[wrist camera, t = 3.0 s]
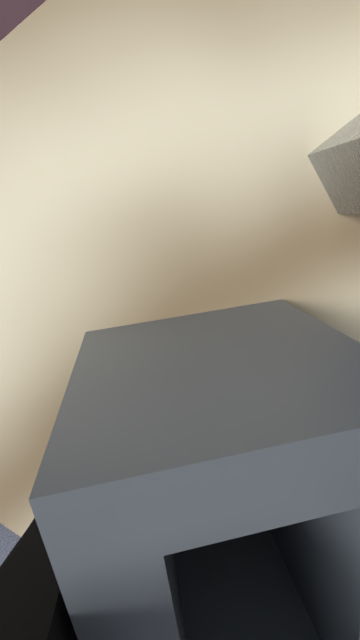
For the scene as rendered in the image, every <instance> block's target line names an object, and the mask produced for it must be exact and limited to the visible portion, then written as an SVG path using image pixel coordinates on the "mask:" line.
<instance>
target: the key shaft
mask: <svg viewBox="0 0 360 640" xmlns="http://www.w3.org/2000/svg"><path fill="white" fill-rule="evenodd" d="M307 156H308V158H309V159H310V161H311V163H312V165H313V167H314V169H315V171H316V173H317V175H318V177H319V179H320V181H321V182H322V184H323V186H324V188H325V190H326V192H327V194H328V196H329V198H330V200H331V202H332V204H333V206H334V207H335V209H336V211H337V213H338V214H360V114H358V115H357V116H356V117H355V118H353V119H352V120H351V121H350V122H348V123H347V124H346V125H345V126H343V127H342V128H341V129H340V130H338V131H337V132H336V133H335V134H333V135H332V136H331V137H329V138H328V139H327V140H326V141H324V142H323V143H322V144H321V145H319V146H318V147H317V148H316V149H314V150H313V151H312V152H311V153H309V154H308V155H307Z"/></svg>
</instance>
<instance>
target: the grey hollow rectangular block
mask: <svg viewBox="0 0 360 640" xmlns="http://www.w3.org/2000/svg"><path fill="white" fill-rule="evenodd" d="M29 503H30V506H31V509H32V511H33V514H34V517H35V520H36V523H37V526H38V528H39V531H40V534H41V537H42V540H43V543H44V545H45V548H46V551H47V554H48V557H49V560H50V562H51V565H52V568H53V571H54V574H55V577H56V579H57V582H58V585H59V588H60V591H61V594H62V596H63V599H64V602H65V605H66V608H67V611H68V613H69V616H70V619H71V622H72V625H73V628H74V630H75V633H76V636H77V639H78V640H360V342H358V341H356V340H354V339H352V338H351V337H349V336H347V335H345V334H343V333H341V332H340V331H338V330H336V329H334V328H332V327H330V326H329V325H327V324H325V323H323V322H321V321H319V320H318V319H316V318H314V317H312V316H310V315H309V314H307V313H305V312H303V311H301V310H299V309H298V308H296V307H294V306H292V305H290V304H288V303H287V302H285V301H283V300H281V299H280V300H274V301H268V302H262V303H256V304H250V305H244V306H238V307H232V308H226V309H220V310H214V311H208V312H202V313H196V314H190V315H184V316H178V317H172V318H166V319H160V320H154V321H148V322H142V323H136V324H130V325H124V326H118V327H112V328H106V329H100V330H94V331H88V332H85V335H84V338H83V341H82V344H81V347H80V350H79V353H78V356H77V359H76V362H75V365H74V367H73V370H72V373H71V376H70V379H69V382H68V385H67V388H66V391H65V394H64V397H63V400H62V403H61V406H60V409H59V412H58V414H57V417H56V420H55V423H54V426H53V429H52V432H51V435H50V438H49V441H48V444H47V447H46V450H45V453H44V456H43V458H42V461H41V464H40V467H39V470H38V473H37V476H36V479H35V482H34V485H33V488H32V491H31V494H30V497H29Z"/></svg>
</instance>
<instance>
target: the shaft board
mask: <svg viewBox="0 0 360 640" xmlns="http://www.w3.org/2000/svg"><path fill="white" fill-rule="evenodd" d="M358 114H360V0H46V1H45V2H44V3H43V4H42V5H41V6H40V7H38V8H37V9H36V10H35V11H34V12H33V13H32V14H31V15H29V16H28V17H27V18H26V19H25V20H24V21H23V22H22V23H20V24H19V25H18V26H17V27H16V28H15V29H14V30H13V31H11V32H10V33H9V34H8V35H7V36H6V37H5V38H4V39H2V40H1V41H0V523H1V524H3V525H4V526H6V527H7V528H8V529H10V530H11V531H13V532H14V533H16V534H17V535H19V536H20V537H22V535H23V534H24V533H25V531H26V530H27V528H28V527H29V525H30V524H31V522H32V521H33V519H34V518H35V517H34V514H33V511H32V509H31V506H30V503H29V497H30V494H31V491H32V488H33V485H34V482H35V479H36V476H37V473H38V470H39V467H40V464H41V461H42V458H43V456H44V453H45V450H46V447H47V444H48V441H49V438H50V435H51V432H52V429H53V426H54V423H55V420H56V417H57V414H58V412H59V409H60V406H61V403H62V400H63V397H64V394H65V391H66V388H67V385H68V382H69V379H70V376H71V373H72V370H73V367H74V365H75V362H76V359H77V356H78V353H79V350H80V347H81V344H82V341H83V338H84V335H85V332H88V331H94V330H100V329H106V328H112V327H118V326H124V325H130V324H136V323H142V322H148V321H154V320H160V319H166V318H172V317H178V316H184V315H190V314H196V313H202V312H208V311H214V310H220V309H226V308H232V307H238V306H244V305H250V304H256V303H262V302H268V301H274V300H280V299H281V300H283V301H285V302H287V303H288V304H290V305H292V306H294V307H296V308H298V309H299V310H301V311H303V312H305V313H307V314H309V315H310V316H312V317H314V318H316V319H318V320H319V321H321V322H323V323H325V324H327V325H329V326H330V327H332V328H334V329H336V330H338V331H340V332H341V333H343V334H345V335H347V336H349V337H351V338H352V339H354V340H356V341H358V342H360V214H338V213H337V211H336V209H335V207H334V206H333V204H332V202H331V200H330V198H329V196H328V194H327V192H326V190H325V188H324V186H323V184H322V182H321V181H320V179H319V177H318V175H317V173H316V171H315V169H314V167H313V165H312V163H311V161H310V159H309V158H308V156H307V155H308V154H309V153H311V152H312V151H313V150H314V149H316V148H317V147H318V146H319V145H321V144H322V143H323V142H324V141H326V140H327V139H328V138H329V137H331V136H332V135H333V134H335V133H336V132H337V131H338V130H340V129H341V128H342V127H343V126H345V125H346V124H347V123H348V122H350V121H351V120H352V119H353V118H355V117H356V116H357V115H358Z"/></svg>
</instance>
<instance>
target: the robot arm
mask: <svg viewBox="0 0 360 640" xmlns="http://www.w3.org/2000/svg"><path fill="white" fill-rule="evenodd" d="M0 640H78V639H77V636H76V633H75V630H74V628H73V625H72V622H71V619H70V616H69V613H68V611H67V608H66V605H65V602H64V599H63V596H62V594H61V591H60V588H59V585H58V582H57V579H56V577H55V574H54V571H53V568H52V565H51V562H50V560H49V557H48V554H47V551H46V548H45V545H44V543H43V540H42V537H41V534H40V531H39V528H38V526H37V523H36V520H35V518H34V519H33V521H32V522H31V524H30V525H29V527H28V528H27V530H26V531H25V533H24V534H23V535H22V537H21V538H20V540H19V541H18V542H17V544H16V545H15V547H14V548H13V549H12V551H11V552H10V554H9V555H8V556H7V558H6V559H5V561H4V562H3V563H2V565H1V566H0Z"/></svg>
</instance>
